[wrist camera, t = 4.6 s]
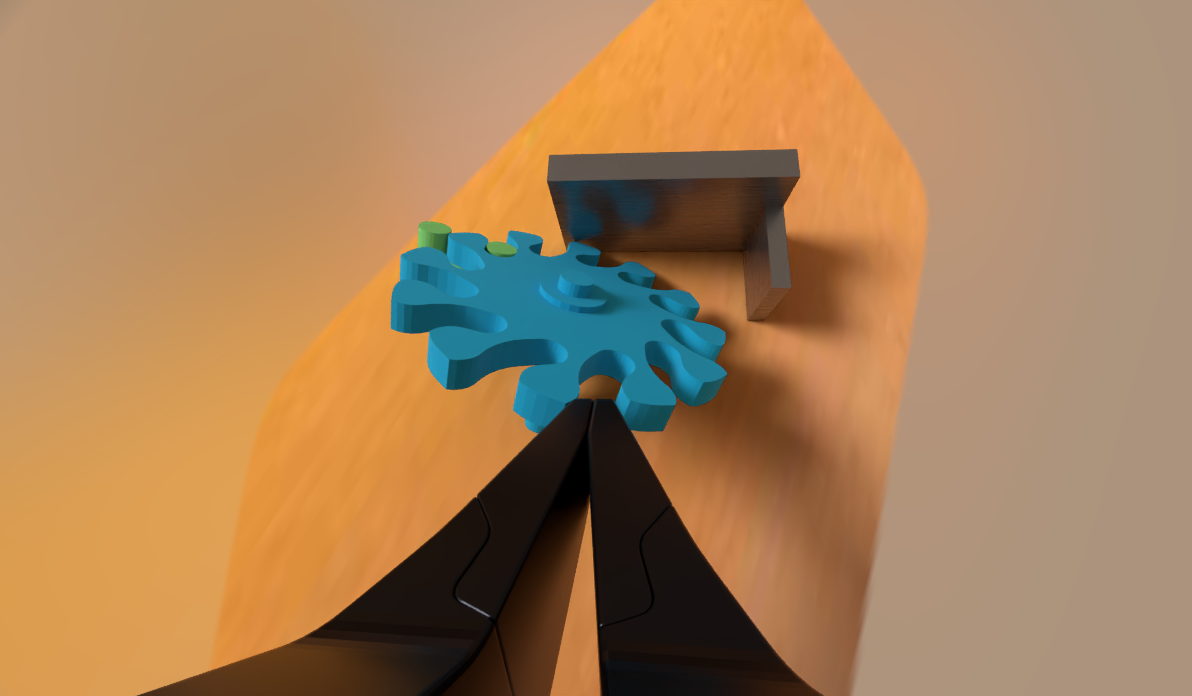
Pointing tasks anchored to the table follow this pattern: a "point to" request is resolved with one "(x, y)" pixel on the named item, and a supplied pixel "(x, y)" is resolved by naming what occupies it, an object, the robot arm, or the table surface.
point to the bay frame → (684, 208)
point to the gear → (554, 324)
